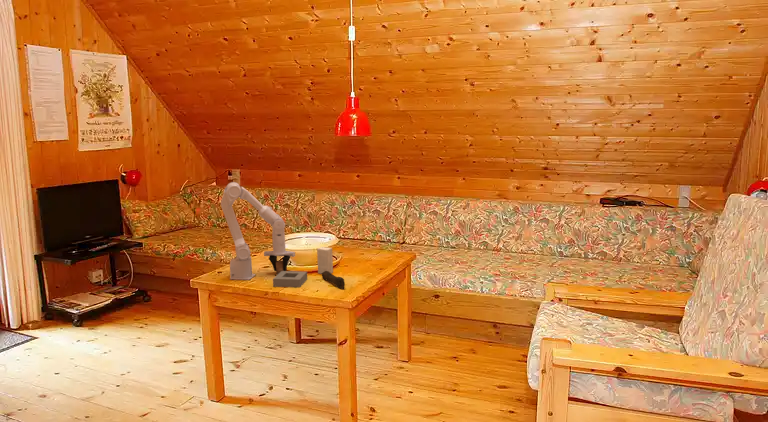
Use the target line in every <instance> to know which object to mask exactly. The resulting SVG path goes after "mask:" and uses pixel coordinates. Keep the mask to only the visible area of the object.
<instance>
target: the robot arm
mask: <svg viewBox="0 0 768 422" xmlns="http://www.w3.org/2000/svg"><path fill="white" fill-rule="evenodd" d="M238 198H239V199H240V200H246V202H248V203H249V204H250V205H252V207H253V208H255V209H256V210H257V211H258V215H259V217H261V219H263V220H264V221H265V222H266V223H267V224H268V225H270V226H271V228H272V234H271V236H272V238H271V239H272V250H270V251H269V250H267V251H266V250H265V251H264V252H263V256H264V257H268V260H269V261H270V263H271V266H272V268H273V272H276V261H278V257H282V261H283V268H284V271H287V269H288V264H289V261H290V259H291V258H295V257H296V251H290V250H286V235H285V234H286V233H285V228H286V224H285V221H284V219H283V218H282V217H281V216H280V214H277V212H275V211H274V210H273V207H272V206H269V205H264V204H262V203H261V202H260V201H259V200H258V199H257V198H256V197H255V196H254V195H253V194H252V193H251V192H250V191H249V190H247V189H246V188H245V187H243V186H241V185H240V183H238V182H236V181H231V182H229V183H228V184H227V185H226V186H225V188H224V190H223V194H222V197H221V200H220V207H221V210H222V213H223V215H224V218H225V222H226V223H227V226H228V229H229V232H230V235H231V237H232V240H233V243H234V247H235V258H232V259H230V262H229V275H230V276H229V280H243V281H245V280H247V281H248V280H251V279H252V278H254V277H255V276H256V273H253V264H252V256H251V250H250V245H248V243H247V242H246V240H245V239H244V237H243V232H242V230H241V227H240V224H239V222H238V219H237V216H236V213H235V211H234V208H233V205H234V203H235V201H236V200H238Z"/></svg>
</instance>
